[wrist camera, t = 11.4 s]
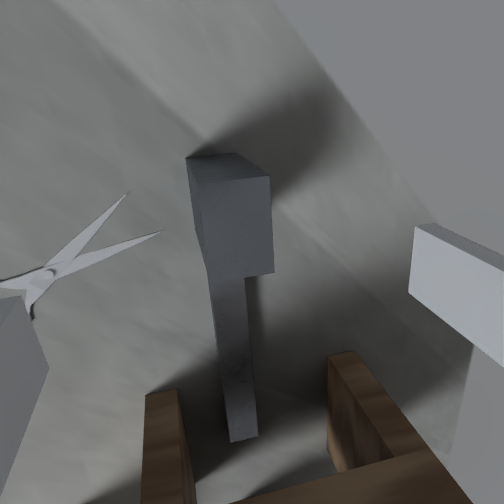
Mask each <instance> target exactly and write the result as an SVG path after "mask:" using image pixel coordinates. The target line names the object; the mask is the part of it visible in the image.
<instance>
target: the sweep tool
mask: <svg viewBox="0 0 504 504" xmlns="http://www.w3.org/2000/svg"><path fill="white" fill-rule="evenodd" d="M186 165H187V173H188V180H189V187H190V194H191V202H192V209H193V216H194V223H195V230H196V234H197V238H198V241H199V245H200V248H201V252H202V256H203V259H204V263H205V266H206V270H207V276H208V283H209V291H210V299H211V306H212V314H213V321H214V329H215V337H216V344H217V352H218V360H219V367H220V375H221V382H222V390H223V398H224V405H225V413H226V420H227V428H228V433H229V438H230V443H233V442H237V441H241V440H245V439H249V438H253V437H257V436H258V425H257V414H256V403H255V391H254V380H253V369H252V357H251V346H250V334H249V323H248V312H247V300H246V289H245V278H246V277H252V276H258V275H264V274H270V273H275V271H274V252H273V232H272V213H271V194H270V176H269V175H268V174H266V173H265V172H263V171H262V170H260V169H259V168H257V167H256V166H255V165H253V164H252V163H250V162H249V161H247V160H246V159H244V158H243V157H241V156H240V155H238V154H237V153H230V154H220V155H211V156H201V157H192V158H186Z"/></svg>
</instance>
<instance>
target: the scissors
mask: <svg viewBox="0 0 504 504" xmlns="http://www.w3.org/2000/svg"><path fill="white" fill-rule="evenodd" d="M125 196H126V195H124V196H123V197H122V198H121V199H120V200H118V201H117V202H116V203H115V204H114V205H113V206H111V207H110V208H109V209H108V210H107V211H106V212H104V213H103V214H102V215H101V216H100V217H99V218H97V219H96V220H95V221H94V222H93V223H91V224H90V225H89V226H88V227H87V228H86V229H84V230H83V231H82V232H81V233H80V234H79V235H77V236H76V237H75V238H74V239H73V240H72V241H71V242H70V243H68V244H67V245H66V246H65V247H64V248H63V249H62V250H61V251H60V252H59V253H57V254H56V255H55V256H54V257H53V258H52V259H51V260H50V261H49V262H48V263H47V264H46V265H45V266H44V267H42V268H39V269H36V270H33V271H31V272H28V273H26V274H23V275H21V276H17V277H14V278H10V279H7V280H4V281H0V287H4V288H10V289H27V296H26V302H25V307H26V309H27V312H28V315H29V317H30V320H31V321H32V317H31V313H30V311H31V305H32V304H33V303H34V302H35V301H36V300H37V299H38V298H39V297H40V296H41V295H42V294H43V293H44V292H45V291H46V290H47V289H48V288H49V286H50V285H51V284H52V283H53V282H54V281H55V280H56V279H58V278H60V277H63V276H65V275H68V274H70V273H73V272H75V271H77V270H80V269H82V268H85V267H87V266H90V265H92V264H94V263H96V262H99V261H101V260H103V259H105V258H108V257H110V256H112V255H114V254H116V253H118V252H120V251H122V250H124V249H127V248H129V247H131V246H133V245H135V244H138V243H140V242H142V241H144V240H146V239H148V238H150V237H152V236H154V235H155V234H157V233H159V232H157V233H153V234H150V235H147V236H143V237H140V238H136V239H133V240H130V241H126V242H123V243H119V244H116V245H113V246H110V247H107V248H104V249H101V250H97V251H93V252H90V253H86V254H83V255H80V256H79V257H77V258H75V257H76V255H77V254H78V253H79V252H80V251H81V250H82V248H83V247H84V246H85V245H86V244H87V242H88V241H89V240H90V239H91V238H92V236H93V235H94V234H95V233H96V232H97V230H98V229H99V228H100V227H101V225H102V224H103V223H104V222H105V220H106V219H107V218H108V217H109V215H110V214H111V213H112V212H113V210H114V209H115V208H116V207H117V206H118V204H119V203H120V202H121V201H122V199H123V198H124V197H125ZM160 232H161V231H160ZM74 258H75V259H74ZM73 259H74V260H73Z"/></svg>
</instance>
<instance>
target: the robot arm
mask: <svg viewBox="0 0 504 504" xmlns="http://www.w3.org/2000/svg"><path fill="white" fill-rule="evenodd" d="M408 293H409V294H411V295H412V296H413V297H415V298H416V299H417V300H418V301H420V302H421V303H422V304H423V305H425V306H426V307H427V308H429V309H430V310H431V311H432V312H434V313H435V314H436V315H437V316H439V317H440V318H441V319H442V320H444V321H445V322H446V323H448V324H449V325H450V326H451V327H453V328H454V329H455V330H456V331H458V332H459V333H460V334H462V335H463V336H464V337H465V338H467V339H468V340H469V341H470V342H472V343H473V344H474V345H476V346H477V347H478V348H480V349H481V350H482V351H483V352H484V353H486V354H487V355H488V356H490V357H491V358H492V359H494V360H495V361H496V362H497V363H499V364H500V365H501V366H502V367H504V256H503V255H501V254H499V253H497V252H495V251H493V250H491V249H488V248H486V247H484V246H482V245H480V244H478V243H475V242H473V241H471V240H469V239H467V238H465V237H463V236H460V235H458V234H456V233H454V232H452V231H450V230H448V229H445V228H443V227H441V226H439V225H437V224H435V223H432V224H426V225H420V226H415V232H414V242H413V251H412V261H411V270H410V280H409V289H408ZM48 370H49V366H48V363H47V361H46V358H45V356H44V353H43V351H42V348H41V345H40V343H39V340H38V338H37V335H36V333H35V330H34V327H33V325H32V322H31V320H30V317H29V315H28V312H27V309H26V307H25V304H24V302H23V299H22V297H21V296H15V297H9V298H4V299H0V496H1V493H2V491H3V488H4V486H5V483H6V480H7V478H8V475H9V472H10V470H11V467H12V465H13V462H14V459H15V457H16V454H17V452H18V449H19V446H20V444H21V441H22V438H23V436H24V433H25V431H26V428H27V425H28V423H29V420H30V418H31V415H32V412H33V410H34V407H35V404H36V402H37V399H38V397H39V394H40V391H41V389H42V386H43V384H44V381H45V378H46V376H47V373H48Z"/></svg>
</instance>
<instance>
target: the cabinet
mask: <svg viewBox="0 0 504 504" xmlns="http://www.w3.org/2000/svg"><path fill="white" fill-rule="evenodd" d="M327 451H328V453H329V455H330V457H331V459H332V461H333V463H334V465H335V468H336V470H337V472H338V473H337V474H333V475H330V476H326V477H323V478H319V479H315V480H312V481H308V482H305V483H301V484H297V485H294V486H290V487H287V488H283V489H280V490H276V491H272V492H269V493H265V494H262V495H258V496H254V497H251V498H247V499H244V500H240V501H237V502H233V503H229V504H473V503H472V502H471V500H470V499H469V498H468V497H467V495H466V494H465V493H464V491H463V490H462V489H461V488H460V486H459V485H458V484H457V482H456V481H455V480H454V479H453V477H452V476H451V475H450V474H449V472H448V471H447V470H446V468H445V467H444V466H443V464H442V463H441V462H440V461H439V459H438V458H437V457H436V455H435V454H434V453H433V452H432V450H431V449H430V448H429V446H428V445H427V444H426V443H425V441H424V440H423V439H422V438H421V436H420V435H419V434H418V432H417V431H416V430H415V429H414V427H413V426H412V425H411V423H410V422H409V421H408V420H407V418H406V417H405V416H404V414H403V413H402V412H401V411H400V409H399V408H398V407H397V405H396V404H395V403H394V402H393V400H392V399H391V398H390V396H389V395H388V394H387V393H386V391H385V390H384V389H383V387H382V386H381V385H380V384H379V382H378V381H377V380H376V378H375V377H374V376H373V375H372V373H371V372H370V371H369V369H368V368H367V367H366V366H365V364H364V363H363V362H362V360H361V359H360V358H359V357H358V355H357V354H356V353H355V351H354V350H353V351H348V352H344V353H339V354H334V355H330V356H328V374H327ZM140 504H197V500H196V489H195V481H194V476H193V471H192V466H191V461H190V456H189V451H188V445H187V440H186V435H185V430H184V425H183V420H182V414H181V409H180V404H179V399H178V394H177V389H173V390H168V391H164V392H159V393H154V394H150V395H145V416H144V438H143V460H142V481H141V503H140Z"/></svg>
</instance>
